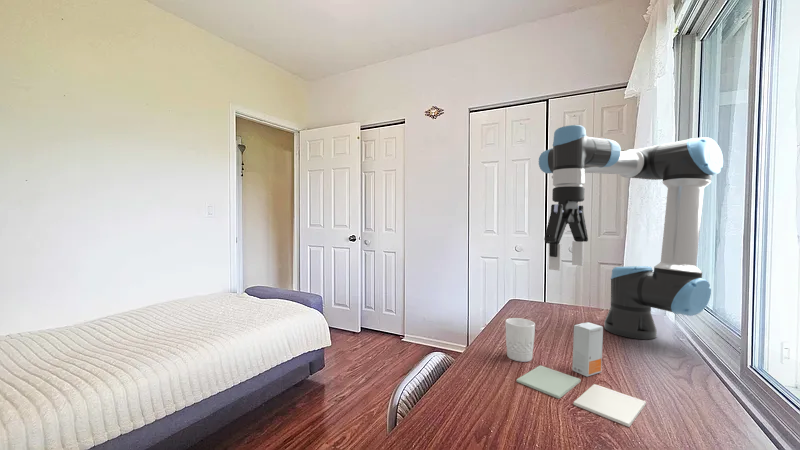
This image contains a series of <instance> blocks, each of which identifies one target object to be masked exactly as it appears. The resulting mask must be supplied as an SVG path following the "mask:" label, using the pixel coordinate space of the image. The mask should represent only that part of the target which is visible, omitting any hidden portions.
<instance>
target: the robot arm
mask: <svg viewBox="0 0 800 450" xmlns="http://www.w3.org/2000/svg"><path fill="white" fill-rule="evenodd" d="M552 141H553V142H552V148H549V149H546V150H543V151H542V153H540V155H539V157H538V166H539V169H540V170H541V171H542V173H544V174H552V176H551V179H552V186H553V188H552V198H551V199H552V202H554V203H556V204H551V206H550V215H549V219H548V223H547V226H546V230H545V235H544V244H549V245H548V270H551V271H552V270H553V271H557V272H559V271H562V244H561V243H560V242H561V240H562V237H563V235H564V233H565V230H566V228H567V225H568V226H569V229H570V232H571V234H572V237H573V241H572V248H571V249H572V251H571V252H572V253H571V257H572V258H571V260H572V262H571V264H572V266H582V267H584V262H585V261H584V257H585V242H588V241H589V238H588V237H589V236H588V230H587V225H586V224H587V223H586V219H585V214H584V205H579V203H578V202H583V201H585V187H583V186H584V185H585V184H586V174H600V175H601V174H603V175H604V174H605V175H619V176H620V177H623V178H628V179H639V180H640V179H642V180H653V181H658V180H662V182H661V183H662V184H663V185H664V186H665V187H666V188H667V194H666V203H665V214H664V224H663V225H664V226H663V235H662V245H661V254H660V256H661V257H660V262H659V263H657V264H656V265H655V266H653V267H652V266H646V265H645V266H644V265H641V266H640V265H638V266H637V265H636V266H635V265H633V266H628V265H627V266H626V265H625V266H614V267H613V268H612V270H611V277H610V308H609V309H608V313H607V315H606V318H605V320H604V324H603V325H604V327H603V329H604V330H606V331H607V332H609V333H611V334H614V335H618V336H620V337H625V338H629V339H630V338H631V339H636V340H653V339H656V338H657V336H658V335H657V334H658V333H657V332H658V331H657V327H656V324H655V322H654V319H653V315H652V308H653V309H657V310H661V311H665V312H669V313H673V314H675V315H682V316H688V317H693V316H697V315H699V314H701V313H702V312H703V311H704V309H706V307H707V305H708V304H709V303H710V302H709V301H710V299H711V296H712V287H711V284H710V282H709V281H708V280H707V279H706V278H705V279H704V278H703V272H702V271H701V269H700V268H698V267H697V262H698V252H699V239H700V232H701V231H700V230H701V229H700V228H701V218H702V210H703V200H704V189H705V187H707V186H708V185H709V184H711V183H712V176H716V175H718V174H720V173H721V170H722V169H723V166H724V156H723V152H722V150H721V148H720V146H719V144H718V143H717V142H716V141H715V140H714V139H712V138H711V137H706V136H705V137H704V136H703V137H696V138H695V137H694V138H693V137H692V138H688V139H683V140H678V141H675V142H668V143H663V144H655V145H652V146H648V147H643V148H637V149H635V148H632V149H631V148H630V149H626V150H623V151H622V148H621V145H620V143H618V142H617V141H615V140H612V139H608V138H606V137H604V138H602V137H601V138H599V137H593V136H592V137H591V136H587V132H586V127H585V126H583V125H579V124H573V125H566V126H561V127H558V128H557V129H555V131H554V133H553V140H552Z"/></svg>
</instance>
